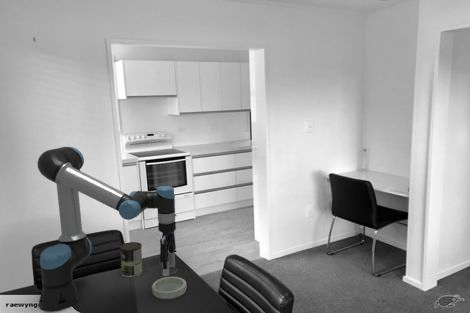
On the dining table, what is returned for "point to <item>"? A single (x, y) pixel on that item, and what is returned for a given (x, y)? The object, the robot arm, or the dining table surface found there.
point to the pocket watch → (171, 269)
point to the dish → (169, 287)
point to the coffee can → (131, 259)
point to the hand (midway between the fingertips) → (169, 270)
